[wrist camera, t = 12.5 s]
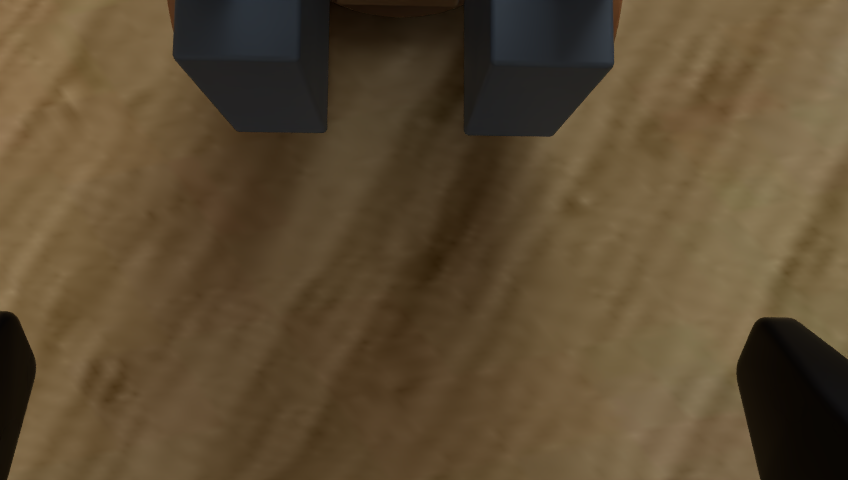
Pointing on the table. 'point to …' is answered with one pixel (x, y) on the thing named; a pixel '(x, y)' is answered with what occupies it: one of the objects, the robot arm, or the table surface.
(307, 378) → the table surface
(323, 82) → the dark blocky forked piece
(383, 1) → the headphone stand
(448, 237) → the table surface
